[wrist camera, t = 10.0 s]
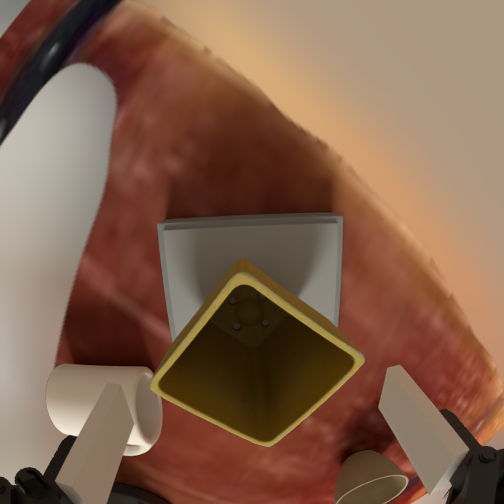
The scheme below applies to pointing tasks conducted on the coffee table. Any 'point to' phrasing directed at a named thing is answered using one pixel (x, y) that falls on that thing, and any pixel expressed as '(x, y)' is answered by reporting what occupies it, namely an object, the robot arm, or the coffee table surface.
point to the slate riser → (251, 258)
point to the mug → (89, 390)
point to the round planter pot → (368, 479)
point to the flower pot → (255, 358)
